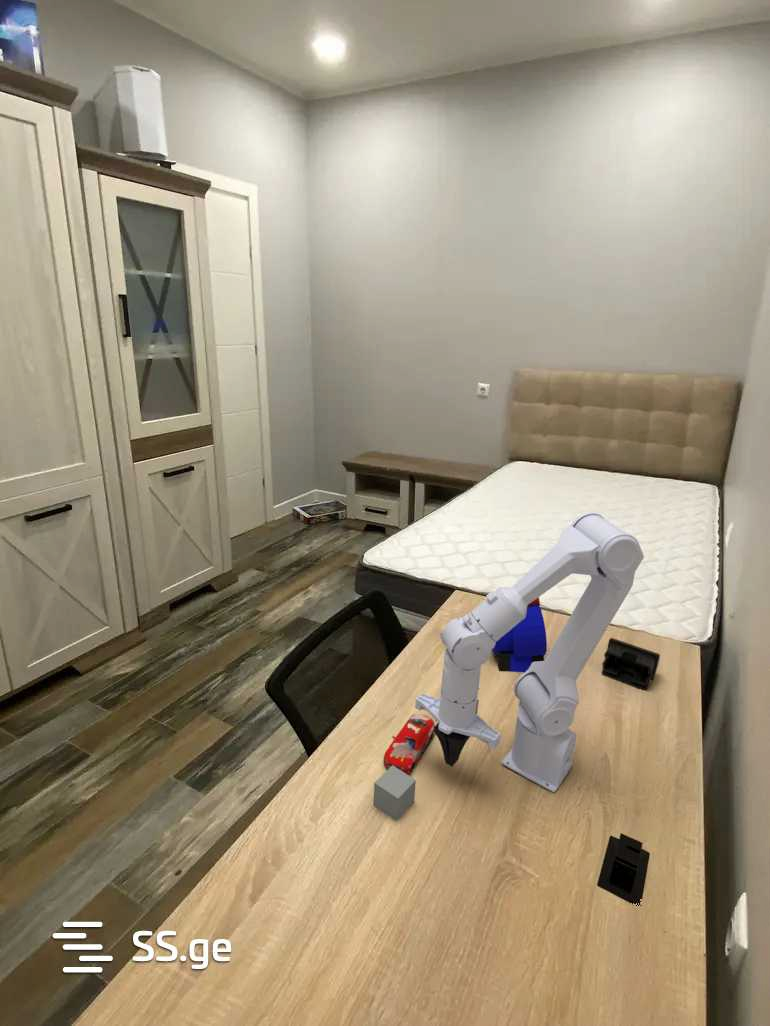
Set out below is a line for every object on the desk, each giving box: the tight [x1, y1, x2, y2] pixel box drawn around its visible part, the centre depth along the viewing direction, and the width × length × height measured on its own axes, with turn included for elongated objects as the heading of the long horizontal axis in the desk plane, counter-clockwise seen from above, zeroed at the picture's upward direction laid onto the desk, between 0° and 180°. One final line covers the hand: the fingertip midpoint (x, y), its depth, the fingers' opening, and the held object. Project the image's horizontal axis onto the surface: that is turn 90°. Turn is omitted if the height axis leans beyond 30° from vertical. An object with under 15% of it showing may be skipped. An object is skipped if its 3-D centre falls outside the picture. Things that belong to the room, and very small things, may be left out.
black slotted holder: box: [601, 637, 661, 692], centre depth 120 cm, size 10×7×7 cm
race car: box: [383, 713, 436, 775], centre depth 97 cm, size 13×5×4 cm, turn 151°
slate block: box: [372, 765, 417, 822], centre depth 86 cm, size 4×4×4 cm
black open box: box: [596, 832, 651, 907], centre depth 78 cm, size 12×7×5 cm, turn 149°
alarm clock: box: [491, 596, 548, 673], centre depth 123 cm, size 12×12×15 cm
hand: (451, 761), depth 92 cm, fingers closed
